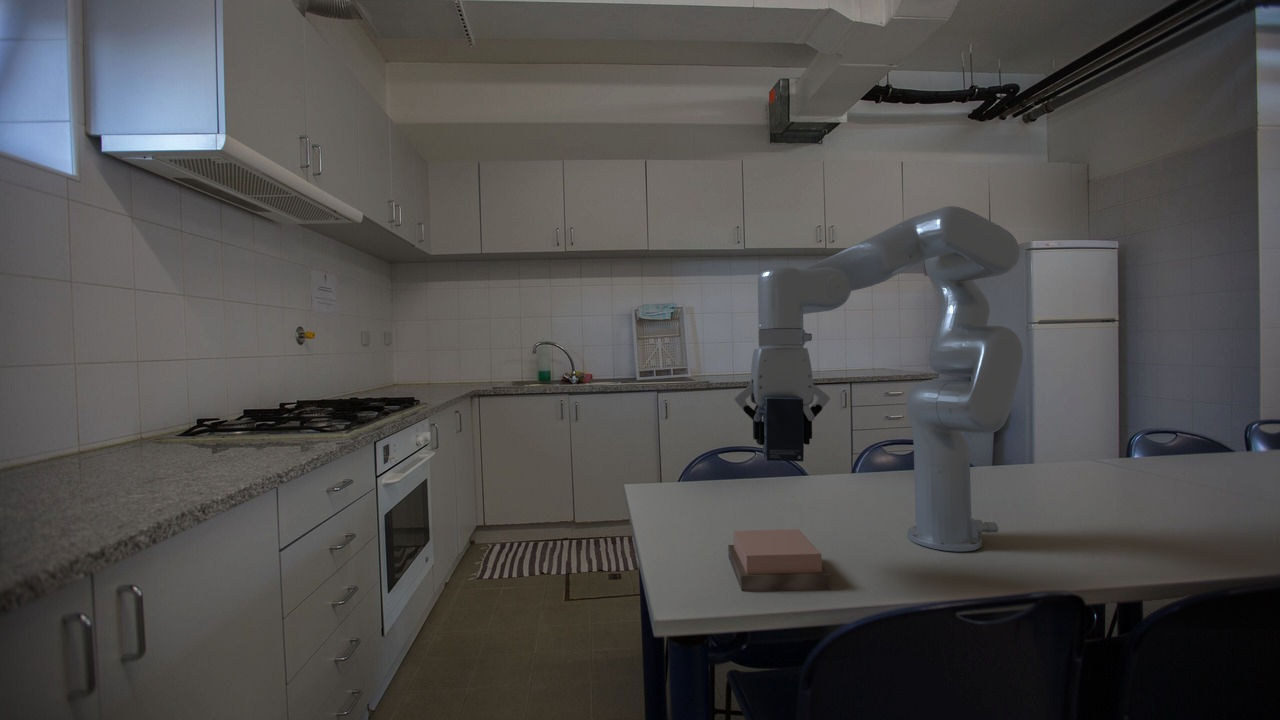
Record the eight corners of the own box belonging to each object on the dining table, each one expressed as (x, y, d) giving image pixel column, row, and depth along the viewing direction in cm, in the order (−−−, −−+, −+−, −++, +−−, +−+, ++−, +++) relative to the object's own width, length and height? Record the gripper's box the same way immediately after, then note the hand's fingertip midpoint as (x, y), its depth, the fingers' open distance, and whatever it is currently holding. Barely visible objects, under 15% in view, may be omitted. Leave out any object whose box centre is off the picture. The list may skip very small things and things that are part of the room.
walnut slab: (804, 559, 96) (803, 543, 96) (830, 593, 82) (829, 574, 82) (728, 561, 97) (728, 544, 97) (741, 594, 83) (741, 576, 83)
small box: (806, 462, 84) (805, 397, 84) (764, 461, 85) (763, 397, 85) (798, 451, 94) (797, 393, 94) (761, 450, 95) (760, 393, 95)
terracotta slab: (799, 545, 95) (798, 529, 95) (821, 572, 83) (821, 553, 83) (733, 547, 95) (733, 530, 95) (747, 574, 83) (746, 555, 83)
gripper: (823, 340, 93) (825, 439, 93) (727, 342, 93) (728, 441, 93) (839, 338, 86) (841, 446, 86) (734, 340, 86) (735, 447, 86)
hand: (782, 442), depth 89 cm, fingers closed on small box, 7 cm apart
